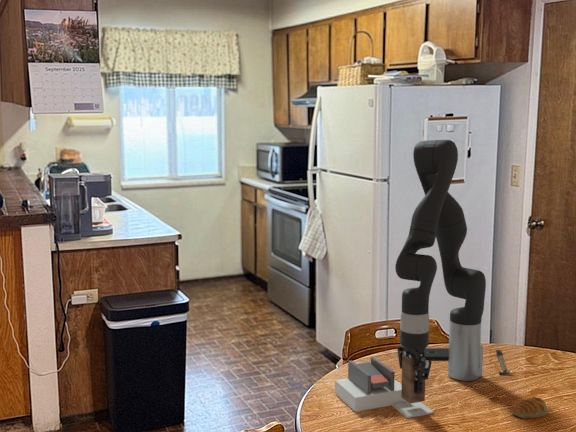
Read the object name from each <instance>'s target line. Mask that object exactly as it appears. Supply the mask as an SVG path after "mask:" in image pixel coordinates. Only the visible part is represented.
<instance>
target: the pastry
mask: <svg viewBox="0 0 576 432" xmlns="http://www.w3.org/2000/svg"><path fill="white" fill-rule="evenodd" d="M547 414H549V409H548V406H547V405H546V402H545V400H544V399H543V398H540V397H535V396H533V397H531V398H526V399H525V398H524V399H521V400H520V402H517V404H515V405H514V407H512V415H514V416H516V417H519V418H521V419H526V418H527V419H535V418H541V417H543V416H546V415H547Z"/></svg>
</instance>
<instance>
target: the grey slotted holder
mask: <svg viewBox="0 0 576 432" xmlns="http://www.w3.org/2000/svg"><path fill="white" fill-rule="evenodd" d="M347 362H348V363H347V378H345V377H344V378H341V379H335V380H334V394H335V395H336V396H337V397H338V398H339V399H341V401H342V402H344V403H345V404H346V405H347V406H348V407H349V408H350V409H351V410H353V412H362V411H363V412H364V411H367V410H368V411H369V410H373V409H378V408H385V407H391V406H392V404H398V403H404V402H407V401H406V400H404V399H403V398H402V397H401V392H402V383H400V382H399V381H397V380H396V379H395V370H394V369H391V368H390V367H389V366H387V365H386V364H385V363H383V362H382V361H380V360H379V359H377V358H376V357H375V356H373V357H372V356H371V357H370V363H371V364H372V365H373V366H374V367H375V368H376V369H377V370H378V371H379V372H380V373H381V374H382V375H383V376H384V377H385V378H386V379H387V380H388V381H389V386H386V387H380V388H374V389H372V388H371V375H370V374H369V373H368V372H366V371H365V370H364V369H362V368H361V367H360V366H358V365H357V364H358V363H356V362H355V361H353V360H348V361H347Z"/></svg>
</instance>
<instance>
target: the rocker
mask: <svg viewBox="0 0 576 432" xmlns="http://www.w3.org/2000/svg"><path fill="white" fill-rule="evenodd" d="M356 364H357V365H358V366H360V367H361V368H362V369H364V370H365V371H366V372H368V373H369V374H370V375H371V388H372V389H374V388H380V387H386V386H389V381H388V380H387V379H386V378H385V377H384V376H383V375H382V374H381V373H380V372H379V371H378V370H377V369H376V368H375V367H374V366H373V365H372V364H371V361H368V362H367V361H366V362H359V363H356Z"/></svg>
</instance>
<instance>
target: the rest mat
mask: <svg viewBox="0 0 576 432" xmlns="http://www.w3.org/2000/svg"><path fill="white" fill-rule="evenodd" d="M391 406H392V408H394V409H395V410H396V411H398V412H399V413H400V414H401V415H402V416H404V417H405V418H406V419H410V418H417V417H423V416H427V415H433V414H434V413H435V412H434V410H432V409H431V408H429V407H428V406H427V405H425V404H424V403H422V402H417V403H411V404H410V403H408V402H404V403H398V404H392V405H391Z"/></svg>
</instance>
